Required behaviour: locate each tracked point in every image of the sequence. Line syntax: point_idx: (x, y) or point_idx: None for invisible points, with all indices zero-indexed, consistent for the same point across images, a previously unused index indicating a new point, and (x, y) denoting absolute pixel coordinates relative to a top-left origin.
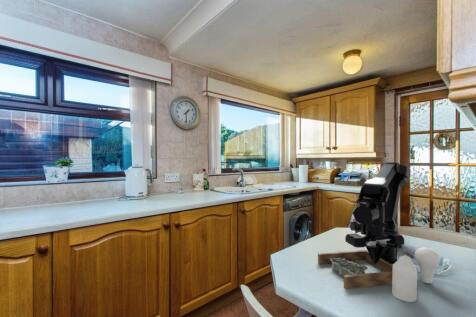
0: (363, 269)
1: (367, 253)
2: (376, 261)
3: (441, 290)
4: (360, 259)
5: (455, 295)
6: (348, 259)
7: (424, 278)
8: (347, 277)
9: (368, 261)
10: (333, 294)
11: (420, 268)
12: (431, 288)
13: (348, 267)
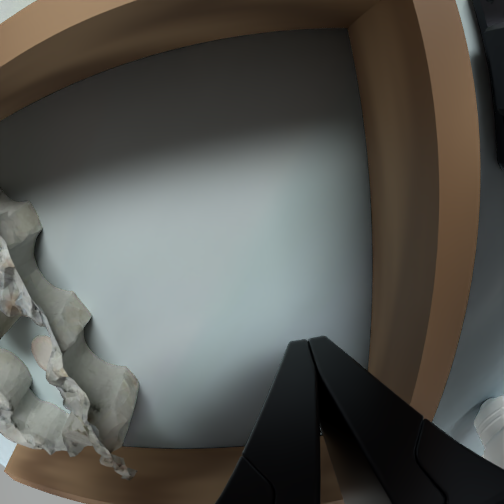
0: (110, 443)
1: (407, 32)
2: (319, 411)
3: (470, 437)
4: (263, 27)
5: (473, 449)
6: (66, 76)
7: (479, 434)
8: (20, 480)
9: (360, 77)
10: (5, 444)
11: (500, 464)
12: (453, 437)
13: (28, 272)
